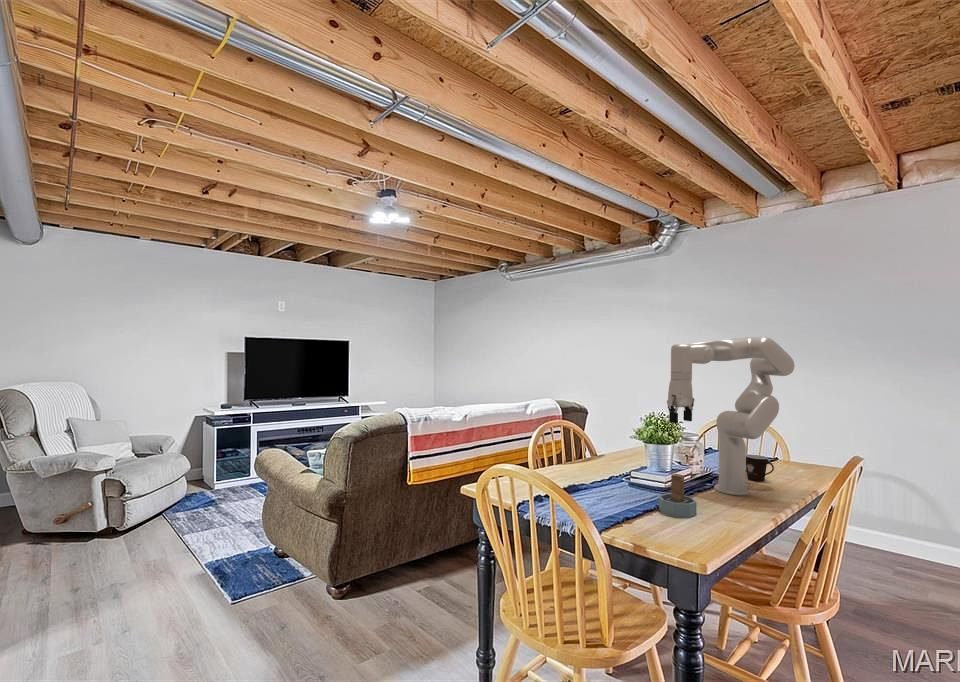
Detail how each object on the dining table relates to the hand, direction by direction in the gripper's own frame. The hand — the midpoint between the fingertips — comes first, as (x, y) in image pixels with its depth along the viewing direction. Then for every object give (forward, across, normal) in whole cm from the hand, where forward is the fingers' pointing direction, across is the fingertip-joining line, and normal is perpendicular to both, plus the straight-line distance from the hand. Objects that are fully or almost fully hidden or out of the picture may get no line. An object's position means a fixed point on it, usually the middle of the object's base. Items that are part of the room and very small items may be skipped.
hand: (680, 421), depth 185 cm
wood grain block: (+28, +17, +9) cm, 34 cm away
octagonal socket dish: (+28, +17, +9) cm, 34 cm away
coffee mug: (+28, -49, +7) cm, 57 cm away
